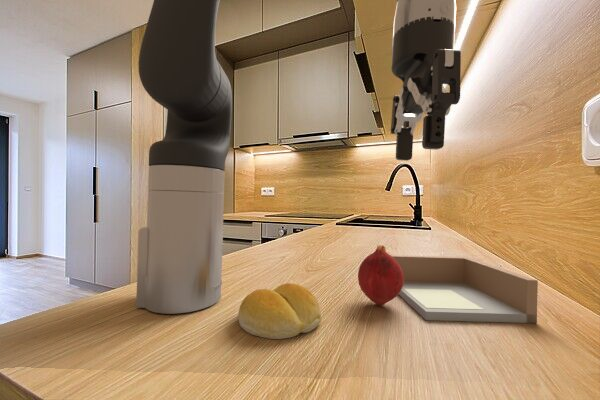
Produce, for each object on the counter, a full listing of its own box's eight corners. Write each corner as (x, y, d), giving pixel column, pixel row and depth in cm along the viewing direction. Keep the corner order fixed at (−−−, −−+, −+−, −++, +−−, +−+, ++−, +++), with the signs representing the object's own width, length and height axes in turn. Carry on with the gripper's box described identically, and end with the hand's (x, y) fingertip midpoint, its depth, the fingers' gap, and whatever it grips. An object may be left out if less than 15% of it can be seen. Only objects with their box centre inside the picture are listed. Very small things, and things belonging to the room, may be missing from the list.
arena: (426, 320, 31) (427, 277, 31) (388, 284, 44) (389, 254, 44) (536, 323, 31) (537, 280, 31) (466, 287, 44) (466, 257, 44)
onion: (406, 317, 31) (408, 250, 31) (357, 311, 33) (359, 247, 33) (398, 299, 37) (400, 243, 37) (357, 295, 38) (358, 240, 38)
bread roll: (229, 317, 31) (230, 282, 31) (296, 303, 35) (297, 273, 35) (254, 353, 24) (255, 308, 24) (334, 330, 28) (335, 293, 28)
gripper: (378, 61, 42) (373, 161, 42) (419, -11, 28) (411, 141, 28) (425, 63, 42) (419, 164, 42) (489, -7, 28) (481, 145, 28)
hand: (416, 155), depth 35 cm, fingers open, 8 cm apart
